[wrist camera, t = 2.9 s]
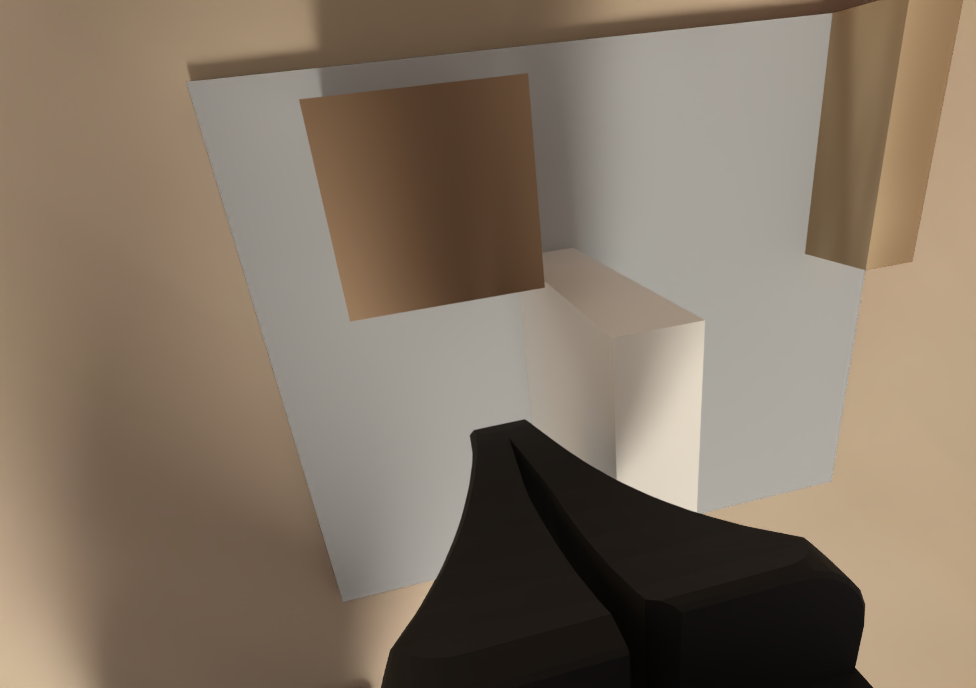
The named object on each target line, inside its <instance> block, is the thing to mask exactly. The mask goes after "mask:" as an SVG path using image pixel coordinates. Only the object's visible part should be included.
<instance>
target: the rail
mask: <svg viewBox="0 0 976 688" xmlns="http://www.w3.org/2000/svg"><path fill="white" fill-rule="evenodd" d="M962 3H963V0H879V1H875V2H872V3H868V4H864V5H860V6H857V7H853V8H849V9H846V10H842V11H838V12H834V13H832V21H831V30H830V39H829V47H828V56H827V65H826V74H825V82H824V91H823V100H822V109H821V117H820V126H819V135H818V144H817V152H816V161H815V170H814V179H813V187H812V196H811V205H810V214H809V222H808V231H807V240H806V249H805V254H807V255H811V256H814V257H818V258H822V259H825V260H829V261H833V262H837V263H840V264H844V265H848V266H851V267H855V268H859V269H862V270H870V269H875V268H881V267H886V266H892V265H897V264H902V263H908V262H912V261H913V256H914V250H915V245H916V240H917V235H918V230H919V225H920V219H921V214H922V209H923V204H924V199H925V194H926V189H927V183H928V178H929V173H930V168H931V163H932V158H933V153H934V147H935V142H936V137H937V132H938V127H939V122H940V116H941V111H942V106H943V101H944V96H945V91H946V86H947V80H948V75H949V70H950V65H951V60H952V55H953V50H954V44H955V39H956V34H957V29H958V24H959V19H960V13H961V8H962Z"/></svg>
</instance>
